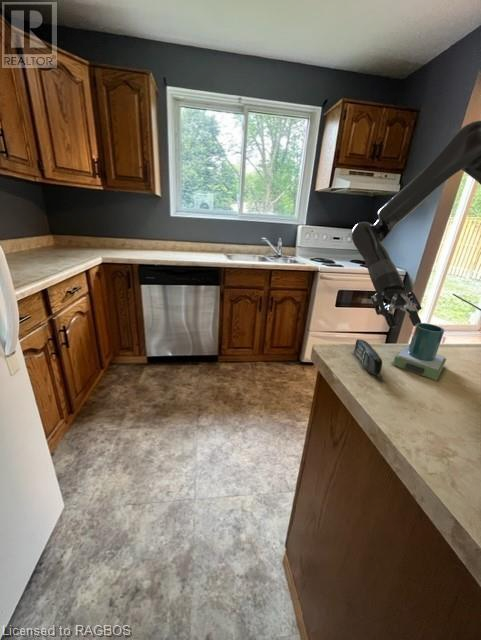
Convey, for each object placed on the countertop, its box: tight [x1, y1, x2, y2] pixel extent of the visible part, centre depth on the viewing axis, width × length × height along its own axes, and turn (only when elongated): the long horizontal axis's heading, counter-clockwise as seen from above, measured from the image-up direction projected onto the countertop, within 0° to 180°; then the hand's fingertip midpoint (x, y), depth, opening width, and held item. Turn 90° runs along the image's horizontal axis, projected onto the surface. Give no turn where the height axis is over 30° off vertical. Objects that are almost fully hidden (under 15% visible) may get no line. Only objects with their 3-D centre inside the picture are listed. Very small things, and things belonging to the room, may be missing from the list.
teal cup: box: [408, 322, 445, 361], centre depth 71 cm, size 6×6×8 cm
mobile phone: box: [353, 339, 384, 381], centre depth 72 cm, size 5×3×15 cm
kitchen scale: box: [392, 345, 447, 381], centre depth 73 cm, size 11×10×3 cm
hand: (406, 326), depth 77 cm, fingers open, 8 cm apart
